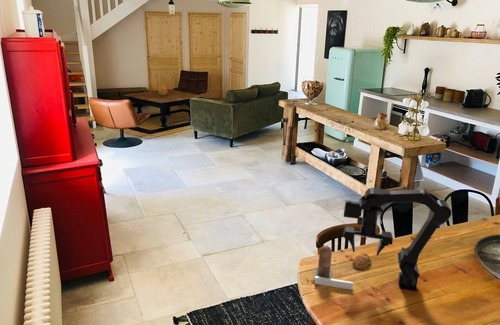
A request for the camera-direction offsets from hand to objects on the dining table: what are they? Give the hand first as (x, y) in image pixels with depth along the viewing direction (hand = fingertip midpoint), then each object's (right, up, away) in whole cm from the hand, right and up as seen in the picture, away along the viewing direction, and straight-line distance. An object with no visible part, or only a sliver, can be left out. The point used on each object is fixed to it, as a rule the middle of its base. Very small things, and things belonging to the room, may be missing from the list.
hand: (365, 253), depth 165 cm
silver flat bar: (-13, -13, -1) cm, 19 cm away
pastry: (+2, -8, +15) cm, 17 cm away
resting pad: (-16, -10, +6) cm, 20 cm away
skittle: (-16, -10, +6) cm, 20 cm away
